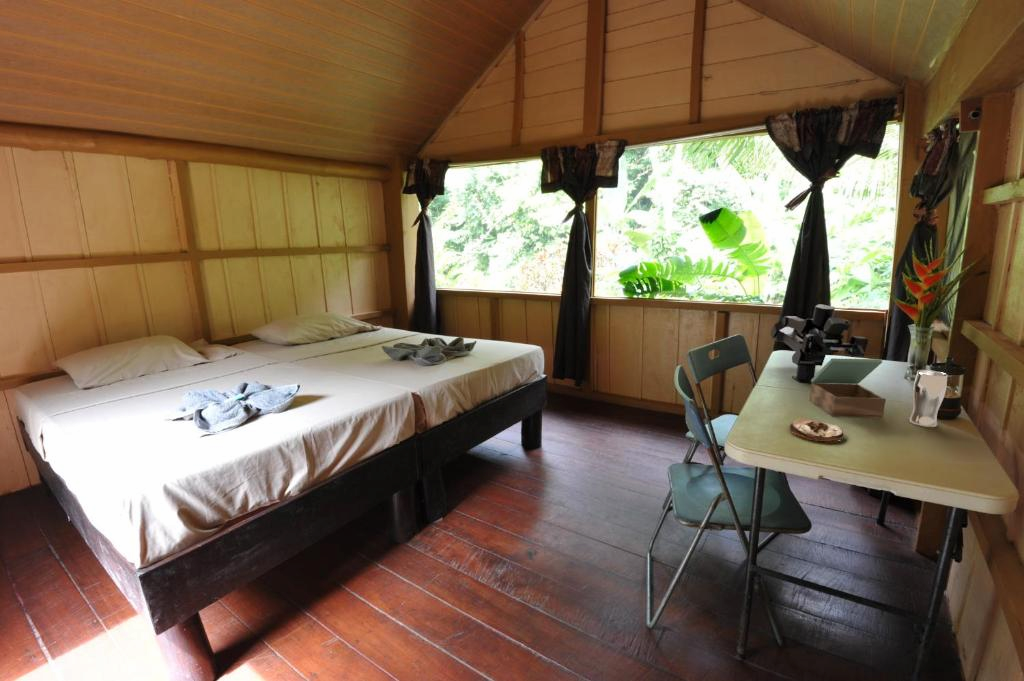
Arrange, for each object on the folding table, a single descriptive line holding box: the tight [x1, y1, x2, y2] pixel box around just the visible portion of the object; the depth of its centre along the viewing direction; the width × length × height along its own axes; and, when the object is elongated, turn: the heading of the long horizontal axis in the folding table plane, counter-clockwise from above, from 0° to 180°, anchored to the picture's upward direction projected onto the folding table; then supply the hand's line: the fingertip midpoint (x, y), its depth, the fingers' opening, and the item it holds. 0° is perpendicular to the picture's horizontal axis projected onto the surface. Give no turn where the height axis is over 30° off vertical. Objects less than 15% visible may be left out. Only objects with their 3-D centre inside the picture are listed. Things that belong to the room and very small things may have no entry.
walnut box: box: [808, 382, 887, 419], centre depth 151 cm, size 14×14×6 cm
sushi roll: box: [789, 418, 844, 443], centre depth 134 cm, size 15×15×4 cm
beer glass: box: [909, 369, 948, 428], centre depth 139 cm, size 7×7×15 cm
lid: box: [810, 358, 883, 385], centre depth 152 cm, size 14×14×2 cm
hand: (847, 354), depth 153 cm, fingers open, 9 cm apart
